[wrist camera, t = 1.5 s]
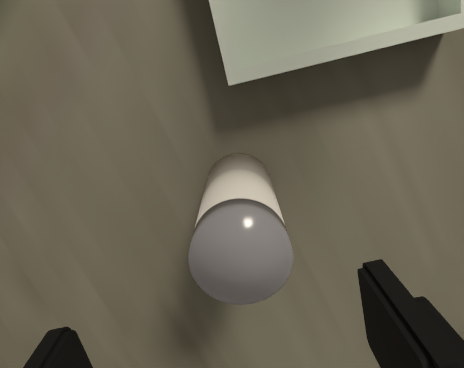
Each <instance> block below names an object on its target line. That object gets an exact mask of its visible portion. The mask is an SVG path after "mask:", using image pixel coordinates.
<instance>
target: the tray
mask: <svg viewBox="0 0 464 368" xmlns="http://www.w3.org/2000/svg"><path fill="white" fill-rule="evenodd" d="M209 3H210V8H211V12H212V16H213V21H214V25H215V29H216V34H217V38H218V42H219V46H220V51H221V55H222V59H223V64H224V68H225V72H226V77H227V81H228V85H229V86H230V85H234V84H238V83H242V82H247V81H251V80H255V79H259V78H263V77H267V76H271V75H275V74H279V73H283V72H287V71H291V70H295V69H299V68H303V67H307V66H311V65H315V64H319V63H324V62H328V61H332V60H336V59H340V58H344V57H348V56H352V55H356V54H360V53H364V52H368V51H372V50H376V49H380V48H384V47H388V46H392V45H396V44H401V43H405V42H409V41H413V40H417V39H421V38H425V37H429V36H433V35H437V34H441V33H445V32H449V31H453V30H457V29H461V28H464V0H209Z"/></svg>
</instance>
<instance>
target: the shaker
mask: <svg viewBox="0 0 464 368" xmlns="http://www.w3.org/2000/svg"><path fill="white" fill-rule="evenodd" d="M188 261H189V268H190V271H191V274H192V276H193V278H194V280H195V282H196V283H197V284H198V286H199V287H200V288H201V289H202V290H203V291H204V292H206V293H207V294H208V295H210V296H211V297H213V298H215V299H217V300H219V301H222V302H225V303H230V304H238V305H241V304H252V303H256V302H259V301H262V300H265V299H267V298H269V297H270V296H272V295H273V294H275V293H276V292H277V291H278V290H279V289H281V287H282V286H283V285H284V284H285V282H286V281H287V279H288V277H289V275H290V273H291V270H292V266H293V249H292V246H291V243H290V239H289V236H288V233H287V230H286V227H285V224H284V221H283V218H282V214H281V211H280V208H279V205H278V202H277V199H276V196H275V192H274V189H273V186H272V183H271V180H270V177H269V174H268V171H267V169H266V168H265V166H264V165H263V164H262V163H261V162H260V161H259V160H257V159H256V158H254V157H252V156H250V155H246V154H231V155H228V156H225V157H223V158H221V159H220V160H219V161H217V162H216V163H215V164H214V165H213V167H212V168H211V170H210V172H209V175H208V178H207V182H206V186H205V190H204V194H203V198H202V201H201V205H200V209H199V213H198V217H197V221H196V225H195V229H194V233H193V237H192V241H191V245H190V249H189V255H188Z"/></svg>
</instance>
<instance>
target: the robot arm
mask: <svg viewBox="0 0 464 368" xmlns="http://www.w3.org/2000/svg"><path fill="white" fill-rule="evenodd" d="M358 278H359V285H360V292H361V299H362V306H363V313H364V320H365V327H366V334H367V339H368V343H369V345H370V348H371V350H372V352H373V354H374V356H375V358H376V360H377V362H378V363H379V365H380V367H381V368H464V340H463V339H462V338H461V337H460V336H459V335H458V334H457V332H456V331H455V330H454V329H453V328H452V327H451V326H450V324H449V323H448V322H447V321H446V320H445V319H444V318H443V316H442V315H441V314H440V313H439V312H438V311H437V310H436V308H435V307H434V306H433V305H432V304H431V303H430V302H429V301H428V300H427V299H426V298H425V297H423V296H421V297H416V298H413V296H412V295H411V294H410V293H409V291H408V290H407V289H406V288H405V287H404V285H403V284H402V283H401V282H400V281H399V279H398V278H397V277H396V276H395V274H394V273H393V272H392V271H391V270H390V268H389V267H388V266H387V265H386V264H385V262H384V261H383V260H381V259H380V260H375V261H370V262H366V263H363V268H360V269H358ZM23 368H93V367H92V365H91V363H90V360H89V358H88V356H87V354H86V352H85V350H84V348H83V345H82V343H81V341H80V339H79V337H78V335H77V333H76V331H74V330H71V329H70V328H69V327H63V328H58V329H53V330H50V331H48V332H47V333H46V335H45V336H44V338H43V339H42V341H41V342H40V343H39V345H38V346H37V348H36V349H35V351H34V352H33V354H32V355H31V357H30V358H29V360H28V361H27V363H26V364H25V366H24V367H23Z"/></svg>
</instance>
